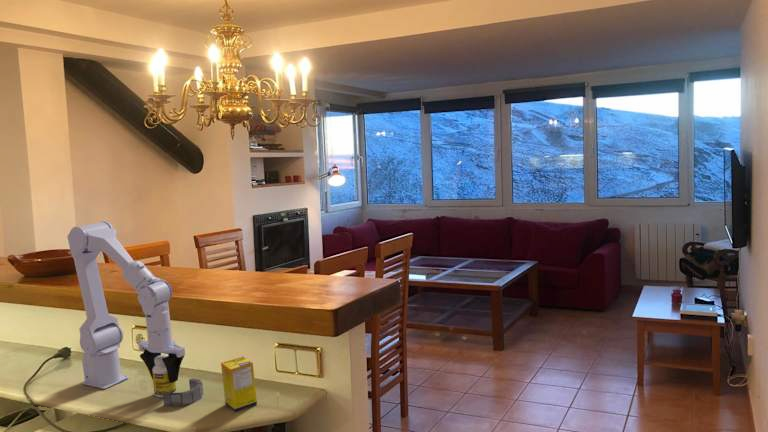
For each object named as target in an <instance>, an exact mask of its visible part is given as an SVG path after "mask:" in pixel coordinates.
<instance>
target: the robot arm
mask: <svg viewBox="0 0 768 432" xmlns="http://www.w3.org/2000/svg"><path fill="white" fill-rule="evenodd" d="M66 237H67V240H68V241H67V242H68V246H69V249H70V254H71V255H70V256H71V258H73V261H74V266H75V271H76V276H77V280H78V285H79V288H80V293H81V299H82V302H83V307H84V311H85V315H86V319H85V320H84V321H83V323H82V325H80V327H79V335H80V336H79V345H80V346H79V347H80V348H81V350H82V351H83V352H84V354H83V357H82V370H83V375H84V376H83V377H84V381H82V383H81V384H82V385H86V386H89V387H94V388H98V389H102V390H105V389H108V388H110V387H113V386H115V385H116V384H119V383H121V382H123V381H125V380H128V379H129V377H130V376H129V375H124V374H122V371H121V363H120V356H119V355H120V354H119V348H120V347H121V343H122V342H123V339H124V331H123V328H122V327H121V326H120V323H119V321H118V317H116V316H114V315H111V314H110V313H109V311H108V307H107V301H106V298H105V293H104V288H103V283H102V280H101V275H100V271H99V266H98V261H97V257H98V256H99V254H100V253H104V254H105V256H107V257H108V258H109V259H110V260H111V261H113V262H114V263H115V264H116V265H117V266H118V267H119V268H120V269H122V272H121V273H122V278H123V279H124V280H125V281H126V282H127V283H128V284H129V285H130V286H131V288H133V290H134V291H135V292H136V293H137V294H138V295H137V300H138V303H139V305H141V308H142V312H143V314H144V315H145V322H146V323H145V324H146V330H147V331H146V332H147V333H146V334H147V340H143V341H140V342H139V343H137V344H138V350H139V351H141V352H142V351H143V352H142V353H141V354H140V355H139V358H140V359H141V360H142V362H143V363H144V364H145V366H146V368H147V370H148V372H149V375H150V378H151V379H152V380H153V372H152V369H153V367H154V366H155V363H154V359H155V357H157V356H160V355H162V354H163V355H168V356H167V357H165V358H162V361H163V362H164V364H165V366H166V369H167V373H168V378H169V381H170V383H173V382H175V381H176V382H177V381H179V374H180V368H181V365H182V362H183V360H184V358H185V355H186V348H185V347H183V346H180V345H178V344H176V340H173V334H172V325H171V324H172V323H171V316H170V308H169V301H171V299H172V298H173V290H172V287H171V285H170V284H169V282H168V281H167V280H166V279H161V278H159V277H156V275H154V274H153V273H152V271H150V270H149V269H148V267H147V266H146V265H145V264H144V263H143V262H142V261H139V260H137V261H136V260H134V259H133V257H131V255H130V254H129V253H128V251H127V250H126V249H125V247H124V246H123V245H122V243H121V242H120V241H119V240H118V238H117V230H116V228H114V227H113V225H112V224H111V223H110V222H108V221H106V220H102V221H100V222H94V223H91V224H85V225H80V226H73V227H72V228H71V229H70V231H69V233H68V235H67V236H66Z"/></svg>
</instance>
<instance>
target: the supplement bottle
mask: <svg viewBox="0 0 768 432" xmlns="http://www.w3.org/2000/svg"><path fill="white" fill-rule="evenodd" d="M167 356H168V354H161V355H160V356H157V357H155V359H154V363H155V366H154V367H153V369H152V372H153V379H152V381H153V383H152V384H153V393H154V394H153V395H154V396H155V397H157V398H163V393H165V392H171V393H177V384H176V383H177V381H175V382H173V383H170V381H169V378H168V373H167V369H166V366H165V364H164V362H163V361H162V358H165V357H167Z"/></svg>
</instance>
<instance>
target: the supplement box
mask: <svg viewBox="0 0 768 432" xmlns="http://www.w3.org/2000/svg"><path fill="white" fill-rule="evenodd" d="M220 366H221V377H222V383H223V384H222V385H223V386H222V387H223V394H224V402H225V406H227V407H228V408H229V409H231V410H232V411H233V412H234V413H236V412H239V411H242V410H244V409H247V408H250V407H253V406H256V405H257V404H258V403H257V402H258V399H257V392H256V390H257V389H256V381H255V373H254V371H255V370H254V363H253V362H252V361H251V360H249V359H248V358H246V357H245V356H240V357H236V358H233V359H230V360H225V361H222V362H220Z"/></svg>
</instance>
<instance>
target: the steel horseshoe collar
mask: <svg viewBox="0 0 768 432" xmlns="http://www.w3.org/2000/svg"><path fill="white" fill-rule="evenodd" d="M188 382H189V383H188V384H189V390H185V391H182V392H175V393H171V392H165V393H163V397H162V399H163V405H164V406H166V407H167V406H168V407H170V408H173V407H184V406H188V405H191V404H195V402H198V401H199V400H201V399H202V398H203V396H204V384H203V382H202V380H201V379H200V378H199V379H198V378H193V377H191V378H190V379H189V380H188Z"/></svg>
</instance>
